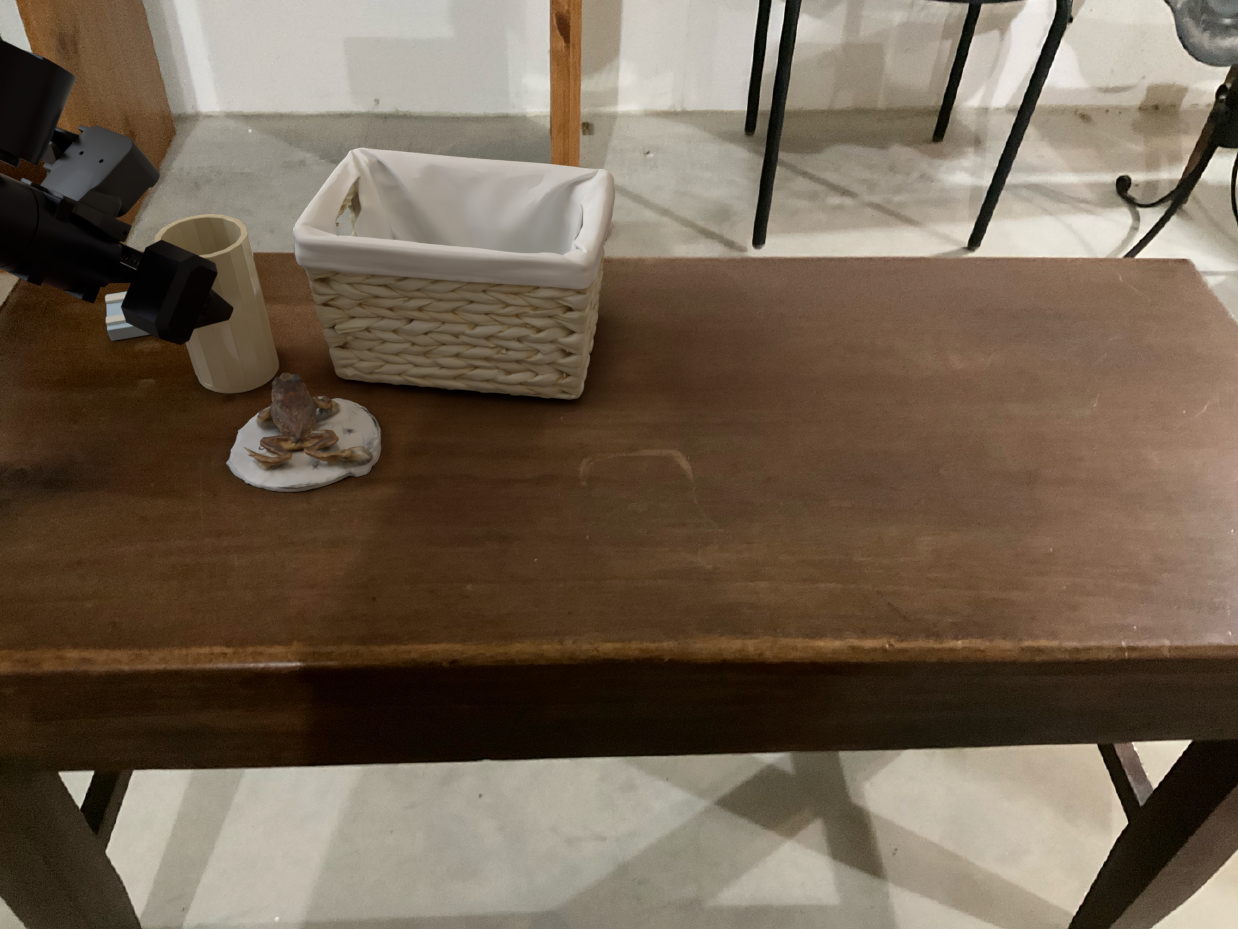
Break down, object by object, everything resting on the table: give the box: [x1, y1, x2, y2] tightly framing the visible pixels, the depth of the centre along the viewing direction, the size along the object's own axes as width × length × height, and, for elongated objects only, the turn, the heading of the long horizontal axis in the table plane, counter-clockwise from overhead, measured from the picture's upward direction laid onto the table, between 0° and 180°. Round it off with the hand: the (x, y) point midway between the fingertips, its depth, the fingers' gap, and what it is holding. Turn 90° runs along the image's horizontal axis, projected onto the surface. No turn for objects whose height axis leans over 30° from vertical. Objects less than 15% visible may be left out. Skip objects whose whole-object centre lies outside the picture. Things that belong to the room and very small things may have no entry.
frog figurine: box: [225, 372, 382, 493], centre depth 75 cm, size 12×12×4 cm
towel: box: [104, 291, 151, 342], centre depth 88 cm, size 10×6×2 cm, turn 112°
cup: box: [153, 213, 280, 394], centre depth 79 cm, size 7×7×13 cm
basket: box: [292, 147, 616, 401], centre depth 82 cm, size 24×16×15 cm
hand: (188, 294), depth 76 cm, fingers open, 9 cm apart
